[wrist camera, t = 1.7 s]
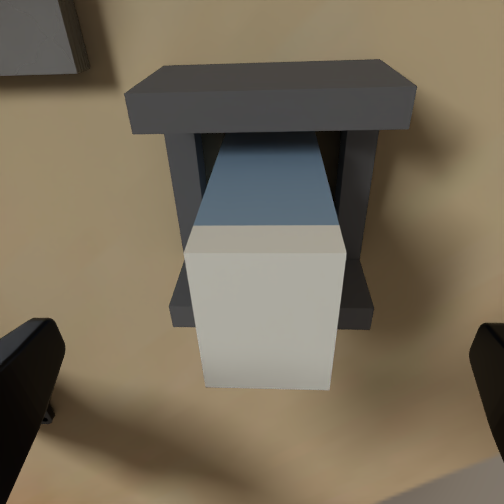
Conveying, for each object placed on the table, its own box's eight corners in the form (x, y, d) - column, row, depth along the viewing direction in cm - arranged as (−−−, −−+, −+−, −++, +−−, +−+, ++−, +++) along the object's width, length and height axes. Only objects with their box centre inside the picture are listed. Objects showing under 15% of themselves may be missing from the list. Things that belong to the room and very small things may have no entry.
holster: (351, 262, 17) (370, 329, 14) (192, 262, 17) (173, 327, 14) (379, 59, 12) (416, 86, 9) (163, 65, 13) (124, 93, 9)
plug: (307, 222, 16) (329, 390, 9) (234, 222, 16) (205, 387, 9) (313, 123, 14) (346, 253, 7) (228, 125, 14) (183, 253, 7)
